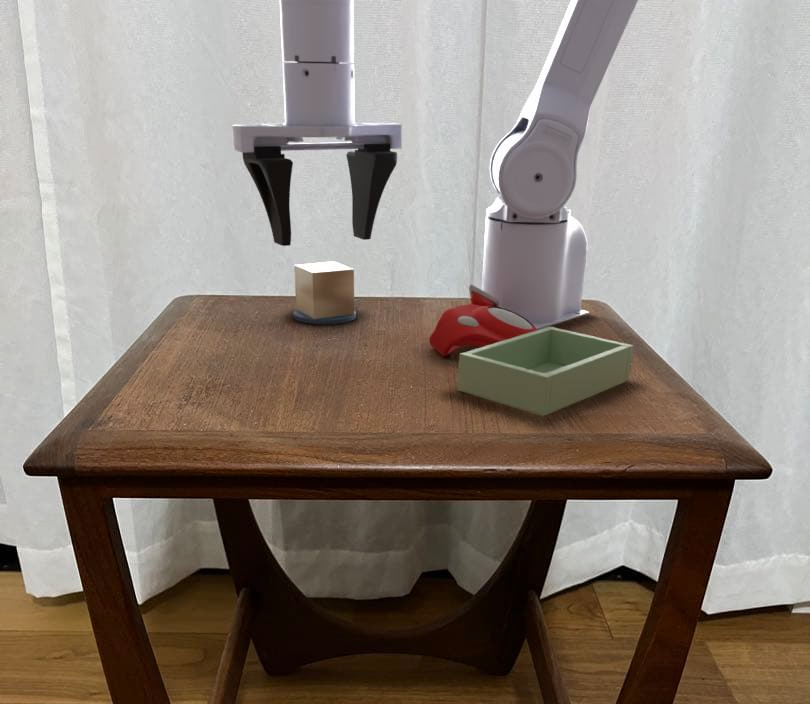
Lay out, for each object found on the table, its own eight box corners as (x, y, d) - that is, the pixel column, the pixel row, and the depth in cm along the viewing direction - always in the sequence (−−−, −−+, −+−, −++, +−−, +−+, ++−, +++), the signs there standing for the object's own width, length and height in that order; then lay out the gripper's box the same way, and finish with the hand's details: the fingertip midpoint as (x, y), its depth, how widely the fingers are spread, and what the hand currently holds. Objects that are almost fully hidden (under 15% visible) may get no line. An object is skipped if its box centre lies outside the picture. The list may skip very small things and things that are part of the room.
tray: (545, 365, 67) (549, 326, 66) (628, 386, 63) (634, 345, 62) (457, 396, 60) (459, 353, 59) (542, 422, 56) (547, 377, 55)
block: (335, 305, 82) (334, 261, 80) (354, 314, 79) (354, 269, 77) (295, 309, 80) (294, 264, 78) (313, 319, 77) (312, 273, 75)
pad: (327, 306, 83) (326, 302, 83) (368, 317, 80) (368, 312, 79) (281, 316, 79) (281, 311, 79) (322, 327, 76) (322, 323, 76)
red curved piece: (581, 345, 68) (486, 330, 62) (557, 394, 70) (462, 385, 64) (495, 279, 76) (402, 261, 70) (475, 326, 78) (384, 313, 72)
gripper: (250, 61, 64) (261, 254, 70) (421, 65, 70) (417, 242, 76) (218, 61, 69) (231, 240, 75) (380, 65, 75) (379, 230, 82)
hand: (323, 240), depth 76 cm, fingers open, 7 cm apart
